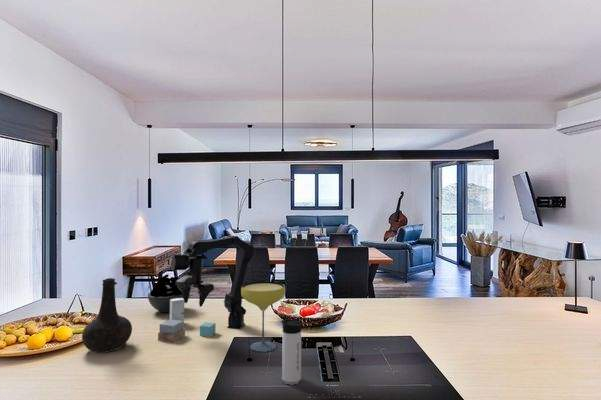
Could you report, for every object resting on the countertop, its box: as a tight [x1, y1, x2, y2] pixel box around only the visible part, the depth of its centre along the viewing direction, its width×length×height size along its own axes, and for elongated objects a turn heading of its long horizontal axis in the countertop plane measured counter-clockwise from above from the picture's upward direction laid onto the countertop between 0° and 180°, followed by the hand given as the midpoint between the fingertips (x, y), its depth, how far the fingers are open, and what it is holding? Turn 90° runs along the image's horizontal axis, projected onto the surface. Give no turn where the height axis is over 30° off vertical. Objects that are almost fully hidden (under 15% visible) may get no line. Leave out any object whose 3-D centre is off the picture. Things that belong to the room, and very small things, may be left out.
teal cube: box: [199, 321, 217, 338], centre depth 164 cm, size 5×5×4 cm
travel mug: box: [281, 319, 302, 386], centre depth 122 cm, size 6×7×20 cm
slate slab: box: [159, 318, 184, 334], centre depth 160 cm, size 7×7×4 cm
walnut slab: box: [157, 327, 186, 343], centre depth 160 cm, size 8×8×4 cm
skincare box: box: [169, 298, 185, 325], centre depth 177 cm, size 6×4×12 cm
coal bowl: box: [147, 273, 184, 313], centre depth 198 cm, size 20×20×19 cm
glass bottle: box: [81, 277, 133, 353], centre depth 148 cm, size 18×18×28 cm
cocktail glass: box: [241, 281, 286, 353], centre depth 150 cm, size 18×18×25 cm
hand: (193, 304), depth 162 cm, fingers open, 9 cm apart
